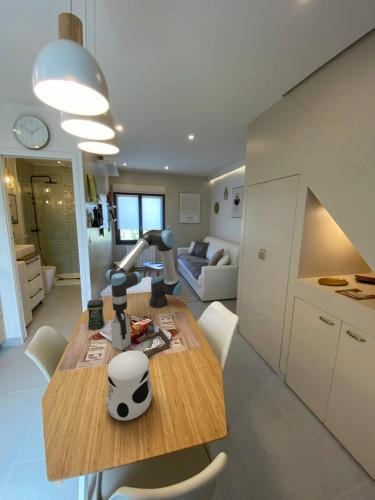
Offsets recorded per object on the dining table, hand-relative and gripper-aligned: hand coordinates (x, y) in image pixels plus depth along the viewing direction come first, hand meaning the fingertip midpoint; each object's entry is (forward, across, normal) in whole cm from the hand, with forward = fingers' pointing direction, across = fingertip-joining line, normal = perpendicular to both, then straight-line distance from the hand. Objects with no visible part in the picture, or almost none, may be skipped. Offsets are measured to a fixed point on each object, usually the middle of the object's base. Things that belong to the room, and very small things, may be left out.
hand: (121, 338), depth 115 cm
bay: (+4, +8, +15) cm, 17 cm away
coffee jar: (+4, -28, -10) cm, 30 cm away
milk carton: (+4, 0, 0) cm, 4 cm away
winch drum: (+4, -4, +19) cm, 20 cm away
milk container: (+4, +39, -5) cm, 39 cm away
